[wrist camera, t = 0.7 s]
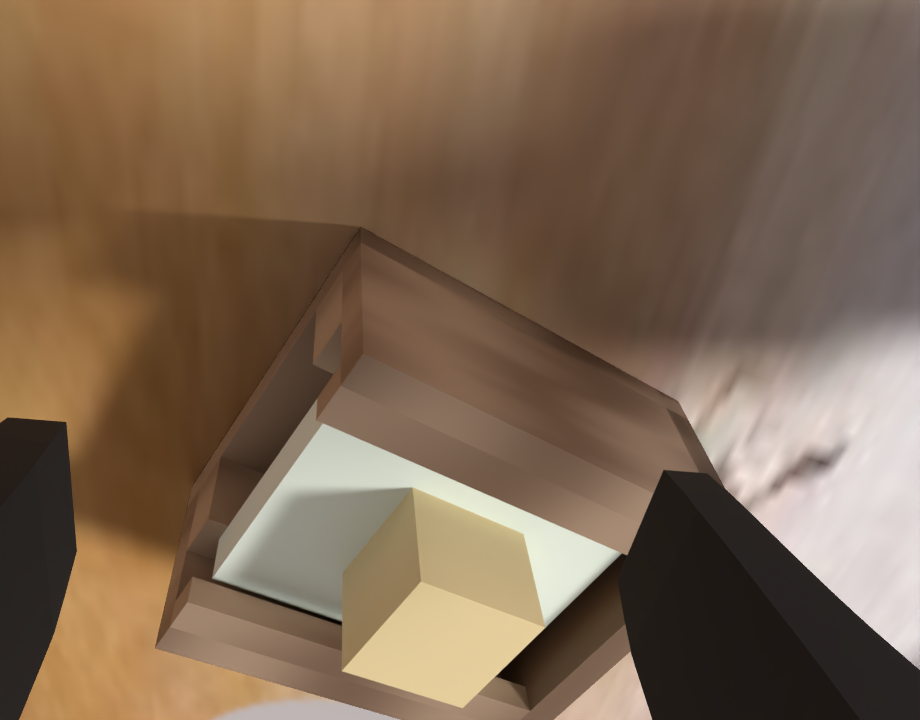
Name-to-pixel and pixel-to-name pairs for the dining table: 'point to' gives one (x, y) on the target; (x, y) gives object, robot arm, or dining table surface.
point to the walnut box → (445, 452)
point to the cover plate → (345, 511)
